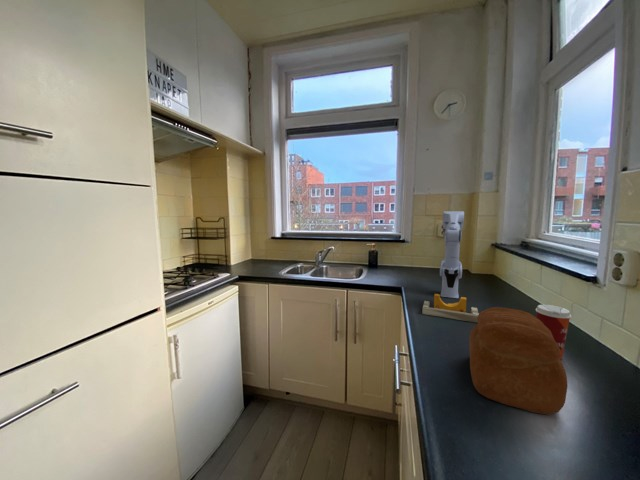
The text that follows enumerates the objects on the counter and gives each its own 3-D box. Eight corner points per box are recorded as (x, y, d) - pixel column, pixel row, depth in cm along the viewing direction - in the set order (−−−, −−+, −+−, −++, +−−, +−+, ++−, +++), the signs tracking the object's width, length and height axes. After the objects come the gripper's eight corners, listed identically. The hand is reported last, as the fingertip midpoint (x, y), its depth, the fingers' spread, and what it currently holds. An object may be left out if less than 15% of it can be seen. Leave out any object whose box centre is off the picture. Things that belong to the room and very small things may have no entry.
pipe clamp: (465, 311, 109) (465, 296, 109) (465, 314, 105) (466, 299, 105) (434, 306, 115) (434, 292, 114) (433, 309, 111) (434, 295, 110)
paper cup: (570, 365, 70) (575, 315, 68) (534, 357, 74) (538, 310, 72) (562, 352, 76) (567, 306, 75) (529, 345, 80) (533, 302, 79)
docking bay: (424, 306, 115) (424, 300, 114) (476, 313, 106) (476, 307, 106) (422, 313, 106) (422, 308, 106) (479, 322, 97) (479, 316, 97)
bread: (543, 369, 68) (549, 308, 66) (571, 428, 50) (580, 344, 48) (467, 352, 77) (471, 297, 75) (467, 396, 58) (471, 324, 57)
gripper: (442, 253, 123) (441, 281, 124) (441, 258, 110) (440, 289, 111) (459, 254, 120) (457, 283, 121) (460, 259, 107) (458, 291, 108)
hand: (450, 286), depth 116 cm, fingers open, 4 cm apart
